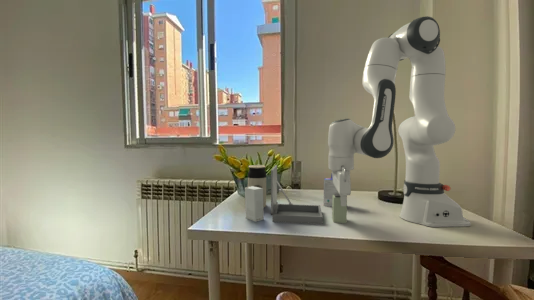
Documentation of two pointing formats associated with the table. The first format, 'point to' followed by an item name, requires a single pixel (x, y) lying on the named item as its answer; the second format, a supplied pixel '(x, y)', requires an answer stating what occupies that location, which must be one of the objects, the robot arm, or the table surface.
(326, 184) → the ink cartridge box
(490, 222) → the table surface
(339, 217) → the block
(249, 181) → the travel mug
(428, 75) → the robot arm
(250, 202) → the skincare box
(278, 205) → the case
